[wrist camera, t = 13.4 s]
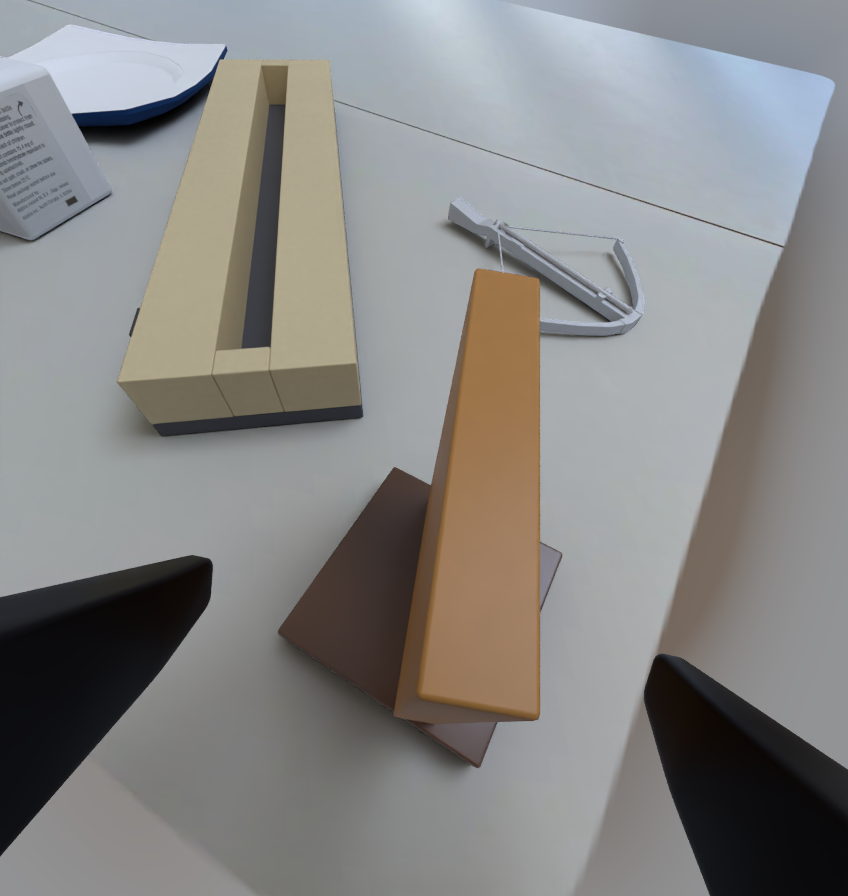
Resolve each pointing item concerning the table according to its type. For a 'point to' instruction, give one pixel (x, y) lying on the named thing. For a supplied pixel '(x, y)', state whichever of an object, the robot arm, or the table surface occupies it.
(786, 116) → the table surface
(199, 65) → the plate
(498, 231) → the crossbow
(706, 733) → the robot arm
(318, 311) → the toaster
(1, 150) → the container
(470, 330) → the toast
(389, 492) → the bread board
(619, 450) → the table surface
